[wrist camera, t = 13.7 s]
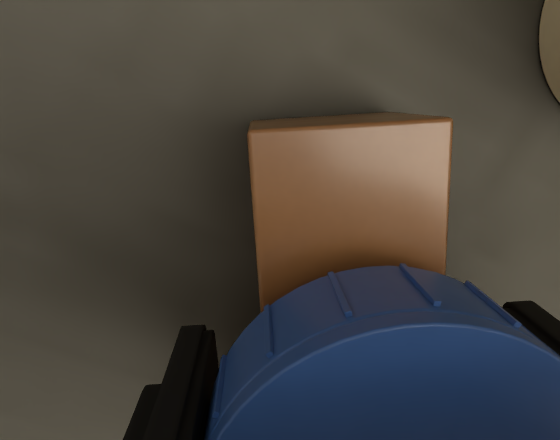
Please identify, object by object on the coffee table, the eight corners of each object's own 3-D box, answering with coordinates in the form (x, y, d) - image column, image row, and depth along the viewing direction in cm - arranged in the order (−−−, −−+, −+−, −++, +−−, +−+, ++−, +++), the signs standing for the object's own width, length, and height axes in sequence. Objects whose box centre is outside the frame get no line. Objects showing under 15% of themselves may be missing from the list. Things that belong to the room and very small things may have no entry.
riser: (387, 457, 15) (431, 577, 11) (275, 468, 15) (282, 593, 11) (392, 111, 12) (455, 117, 8) (249, 120, 12) (246, 130, 8)
